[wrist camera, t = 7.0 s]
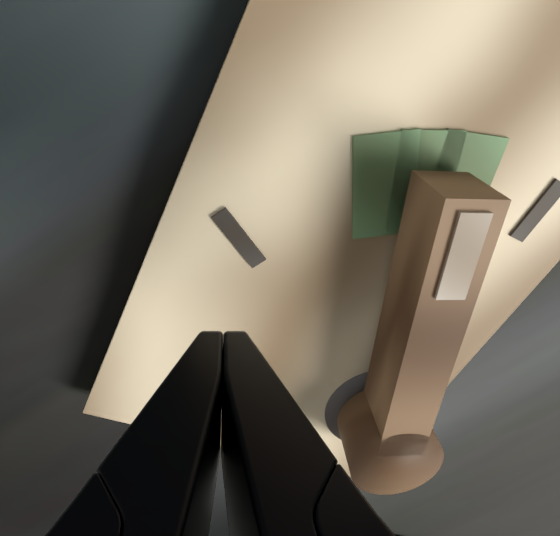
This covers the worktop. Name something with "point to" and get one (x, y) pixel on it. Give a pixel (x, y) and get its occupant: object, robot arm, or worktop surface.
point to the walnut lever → (421, 329)
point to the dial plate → (342, 187)
